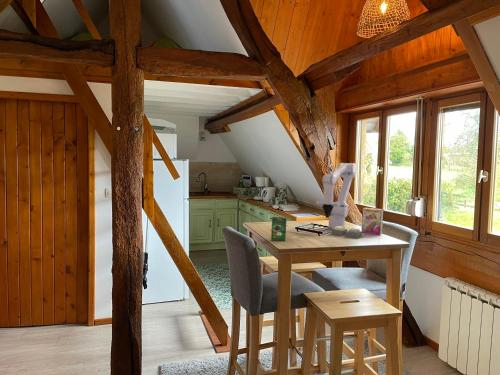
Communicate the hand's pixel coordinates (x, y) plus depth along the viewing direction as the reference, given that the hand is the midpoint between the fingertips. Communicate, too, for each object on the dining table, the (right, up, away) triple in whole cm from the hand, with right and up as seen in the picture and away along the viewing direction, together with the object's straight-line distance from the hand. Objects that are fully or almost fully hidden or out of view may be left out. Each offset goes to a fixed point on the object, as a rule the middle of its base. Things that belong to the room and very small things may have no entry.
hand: (327, 217), depth 234 cm
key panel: (+9, -11, -8) cm, 17 cm away
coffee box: (-31, -12, -17) cm, 37 cm away
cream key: (+6, -8, -5) cm, 11 cm away
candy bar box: (+26, -11, -1) cm, 28 cm away
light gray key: (+13, -9, -11) cm, 19 cm away
